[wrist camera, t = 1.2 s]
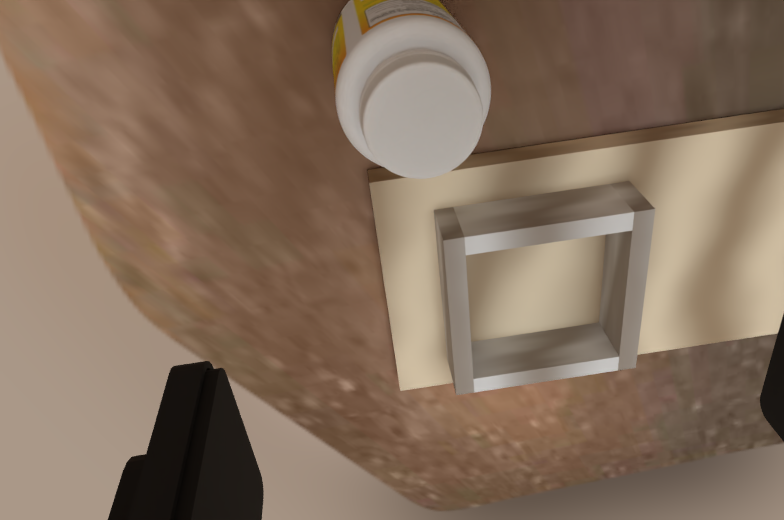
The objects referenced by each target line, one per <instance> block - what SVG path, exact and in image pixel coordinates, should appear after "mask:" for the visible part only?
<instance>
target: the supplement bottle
mask: <svg viewBox="0 0 784 520" xmlns="http://www.w3.org/2000/svg"><path fill="white" fill-rule="evenodd" d="M332 63H333V75H334V86H335V99H336V108H337V114H338V117H339V121H340V124H341V126H342V129H343V131H344V133H345V134H346V136H347V138H348V139H349V141H350V142H351V143H352V145H353V146H354V147H355V148H356V149H357V150H358V151H359V152H360V153H361V154H362V155H364V156H365V157H366V158H368V159H369V160H371V161H372V162H374V163H376V164H378V165H380V166H382V167H385V168H386V169H387V170H389V171H391V172H392V173H395V174H397V175H400V176H403V177H407V178H414V179H427V178H433V177H437V176H440V175H443V174H445V173H448V172H449V171H451V170H453V169H454V168H456V167H458V166H459V165H460V164H461V163H462V162H464V161H465V160H466V159H467V157H468V156H469V155H470V154H471V152H472V151H473V150H474V148H475V147H476V145H477V143H478V140H479V138H480V135H481V132H482V128H483V124H484V122H485V120H486V117H487V114H488V110H489V106H490V100H491V83H490V75H489V71H488V68H487V65H486V62H485V60H484V58H483V56H482V54H481V52H480V50H479V49H478V47H477V46H476V44H475V43H474V42H473V40H472V39H471V38H470V37H469V36H468V35H467V33H466V32H465V31H464V30H463V29H462V27H461V26H460V25H459V24H458V22H457V21H456V20H455V19H454V18H453V17H452V15H451V14H450V13H449V12H448V11H447V9H446V8H445V7H444V6H443V4H442V3H441V2H440V1H439V0H350V1H349V2H348V3H347V4H346V5H345V7H344V8H343V10H342V11H341V13H340V15H339V17H338V19H337V21H336V24H335V27H334V31H333V36H332Z"/></svg>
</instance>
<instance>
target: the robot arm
mask: <svg viewBox="0 0 784 520" xmlns="http://www.w3.org/2000/svg"><path fill="white" fill-rule="evenodd" d="M760 405H761V409H762V412H763V414H764V416H765V418H766V420H767V421H768V422H769V423H770V425H771V426H772V427H773V429H774V430H775V431H776V432H777V434H778V435H779V436H780V438H781V439H782V440H783V441H784V314H783V317H782V321H781V324H780V328H779V332H778V335H777V339H776V342H775V346H774V350H773V353H772V357H771V360H770V364H769V368H768V371H767V375H766V378H765V382H764V385H763V389H762V393H761V397H760ZM262 506H263V482H262V477H261V473H260V470H259V468H258V465H257V462H256V459H255V456H254V453H253V450H252V447H251V444H250V442H249V439H248V436H247V433H246V430H245V427H244V424H243V421H242V418H241V415H240V413H239V409H238V407H237V404H236V401H235V398H234V395H233V392H232V389H231V386H230V383H229V381H228V378H227V375H226V372H225V370H224V369H223V368H218V369H214V368H213V366H212V364H211V363H210V362H209V361H204V362H198V363H192V364H184V365H178V366H174V367H172V368H171V370H170V373H169V376H168V380H167V383H166V386H165V390H164V393H163V397H162V401H161V404H160V408H159V411H158V415H157V418H156V422H155V425H154V429H153V432H152V436H151V440H150V443H149V446H148V450H147V454H145V455H139V456H134V457H131V458H130V459H129V460H128V462H127V463H126V466H125V468H124V470H123V473H122V476H121V479H120V483H119V486H118V489H117V492H116V495H115V499H114V502H113V505H112V508H111V511H110V514H109V518H108V520H261V519H262V508H263V507H262Z"/></svg>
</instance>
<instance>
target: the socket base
mask: <svg viewBox="0 0 784 520" xmlns="http://www.w3.org/2000/svg"><path fill="white" fill-rule="evenodd" d="M367 172H368V178H369V185H370V192H371V199H372V205H373V212H374V219H375V225H376V232H377V239H378V245H379V252H380V259H381V265H382V272H383V279H384V285H385V292H386V299H387V305H388V312H389V319H390V325H391V332H392V339H393V345H394V352H395V359H396V365H397V372H398V379H399V385H400V391H402V390H409V389H415V388H422V387H429V386H435V385H442V384H448V383H453V384H454V388H455V392H456V395H460V394H467V393H473V392H480V391H486V390H493V389H499V388H506V387H512V386H519V385H525V384H532V383H538V382H545V381H552V380H558V379H565V378H571V377H578V376H584V375H591V374H597V373H604V372H610V371H617V370H623V369H630V368H636V361H637V355H638V354H645V353H651V352H658V351H664V350H671V349H678V348H684V347H691V346H697V345H704V344H710V343H717V342H723V341H730V340H737V339H743V338H750V337H756V336H763V335H769V334H776V333H778V332H779V328H780V324H781V321H782V317H783V314H784V109H779V110H772V111H765V112H759V113H752V114H745V115H738V116H731V117H725V118H718V119H711V120H704V121H697V122H690V123H684V124H677V125H670V126H663V127H656V128H650V129H643V130H636V131H629V132H622V133H616V134H609V135H602V136H595V137H588V138H581V139H575V140H568V141H561V142H554V143H547V144H541V145H534V146H527V147H520V148H513V149H507V150H500V151H493V152H486V153H479V154H473V155H469V156H468V157H467V159H466V160H465V161H464V162H462V163H461V164H460V165H459V166H458V167H456V168H454V169H453V170H451V171H449V172H448V173H445V174H443V175H440V176H437V177H433V178H427V179H414V178H407V177H403V176H400V175H397V174H395V173H392V172H391V171H389V170H387V169H386V168H385V167H384V168H377V169H370V170H367Z"/></svg>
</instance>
